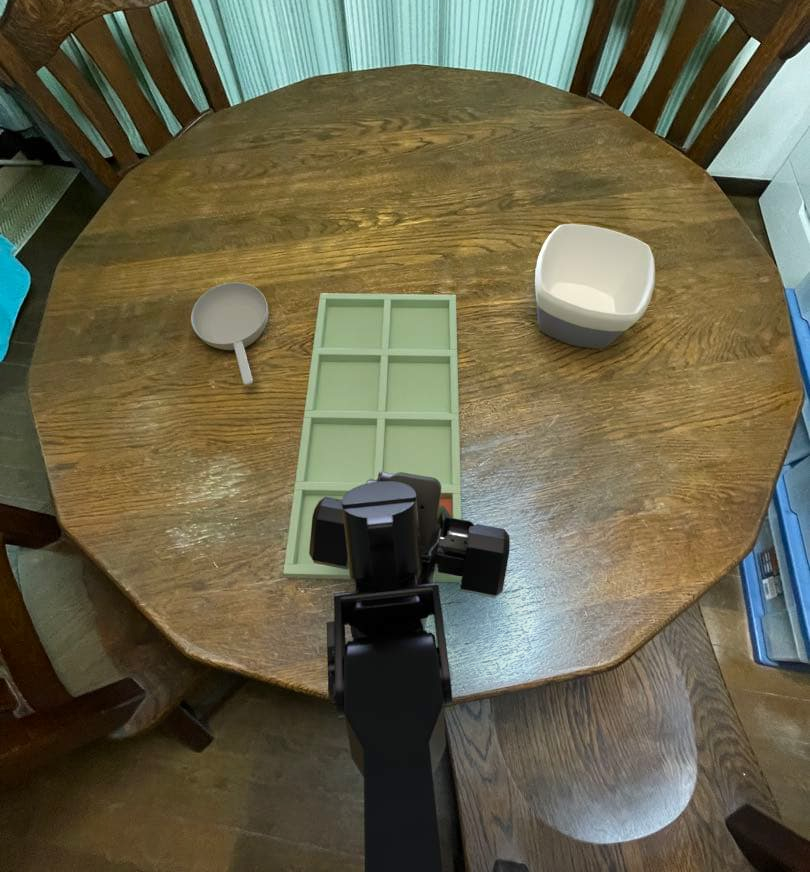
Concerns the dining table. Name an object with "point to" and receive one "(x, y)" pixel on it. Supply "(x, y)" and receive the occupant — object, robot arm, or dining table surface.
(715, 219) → the dining table surface
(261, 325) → the grey frying pan
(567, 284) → the bowl
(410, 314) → the grid
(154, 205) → the dining table surface
